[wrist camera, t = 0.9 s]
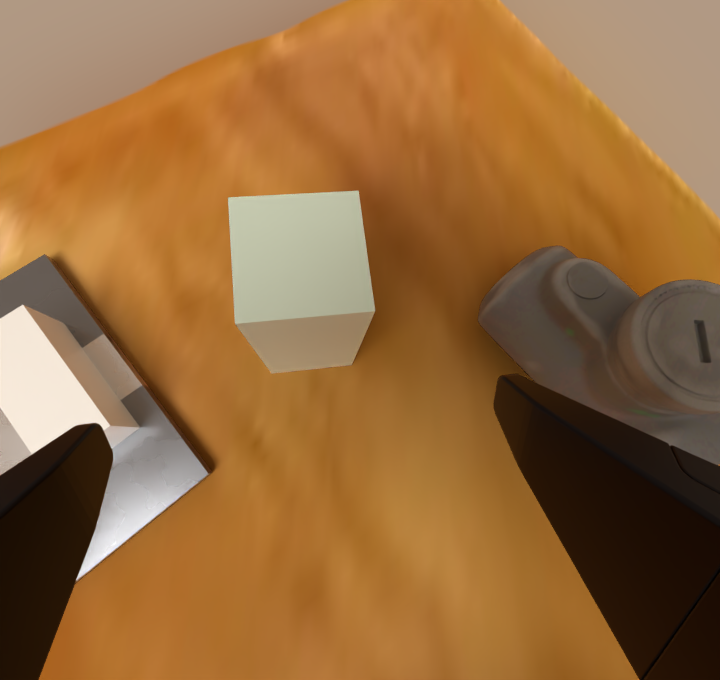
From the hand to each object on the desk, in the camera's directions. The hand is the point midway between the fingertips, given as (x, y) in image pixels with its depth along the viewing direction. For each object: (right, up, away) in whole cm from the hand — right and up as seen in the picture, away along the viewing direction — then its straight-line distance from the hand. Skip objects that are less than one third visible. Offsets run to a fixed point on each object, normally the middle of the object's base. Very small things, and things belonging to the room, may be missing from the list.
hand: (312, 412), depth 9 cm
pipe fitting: (+13, 0, +15) cm, 20 cm away
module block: (-2, +2, +14) cm, 14 cm away
